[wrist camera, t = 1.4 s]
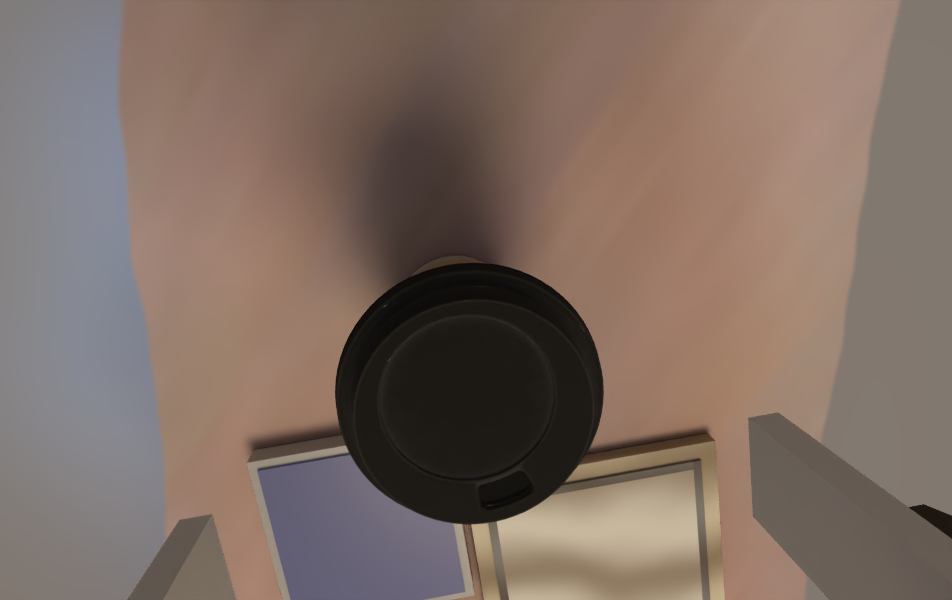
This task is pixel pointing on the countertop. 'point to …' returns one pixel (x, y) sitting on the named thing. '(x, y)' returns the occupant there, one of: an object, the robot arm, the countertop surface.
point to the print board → (615, 531)
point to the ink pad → (350, 531)
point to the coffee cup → (469, 391)
